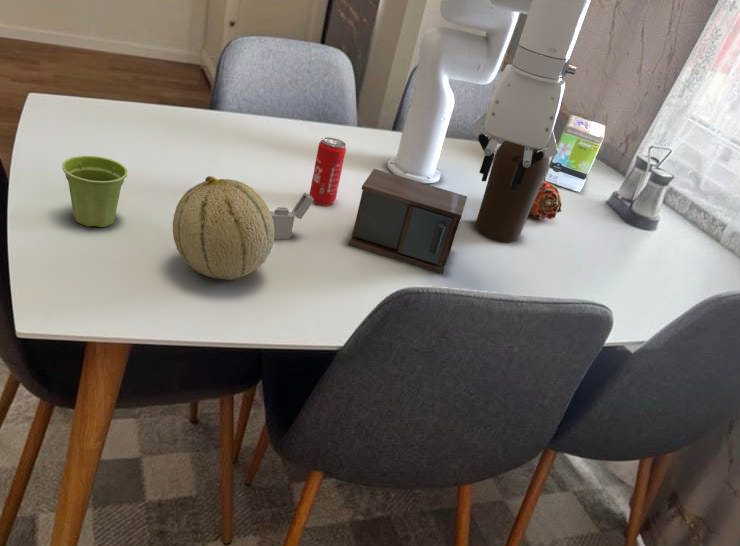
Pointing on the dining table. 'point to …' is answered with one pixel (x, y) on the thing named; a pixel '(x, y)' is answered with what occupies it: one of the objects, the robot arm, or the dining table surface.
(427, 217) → the tinted door with handle
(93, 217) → the plant pot
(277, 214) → the lighter
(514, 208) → the olive oil
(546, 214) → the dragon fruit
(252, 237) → the cantaloupe
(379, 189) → the cabinet
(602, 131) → the tea box
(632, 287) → the dining table surface
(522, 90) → the robot arm
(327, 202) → the beverage can
